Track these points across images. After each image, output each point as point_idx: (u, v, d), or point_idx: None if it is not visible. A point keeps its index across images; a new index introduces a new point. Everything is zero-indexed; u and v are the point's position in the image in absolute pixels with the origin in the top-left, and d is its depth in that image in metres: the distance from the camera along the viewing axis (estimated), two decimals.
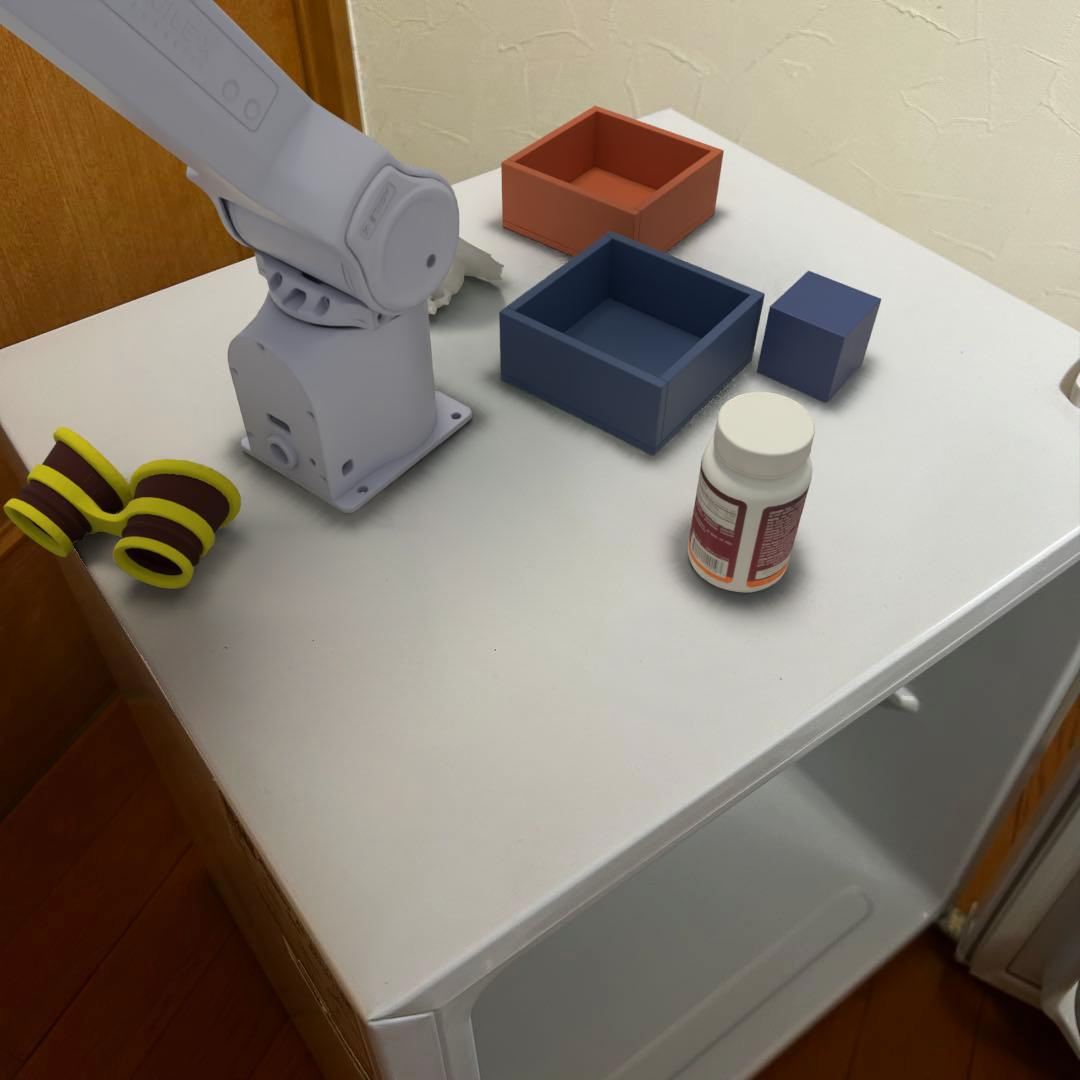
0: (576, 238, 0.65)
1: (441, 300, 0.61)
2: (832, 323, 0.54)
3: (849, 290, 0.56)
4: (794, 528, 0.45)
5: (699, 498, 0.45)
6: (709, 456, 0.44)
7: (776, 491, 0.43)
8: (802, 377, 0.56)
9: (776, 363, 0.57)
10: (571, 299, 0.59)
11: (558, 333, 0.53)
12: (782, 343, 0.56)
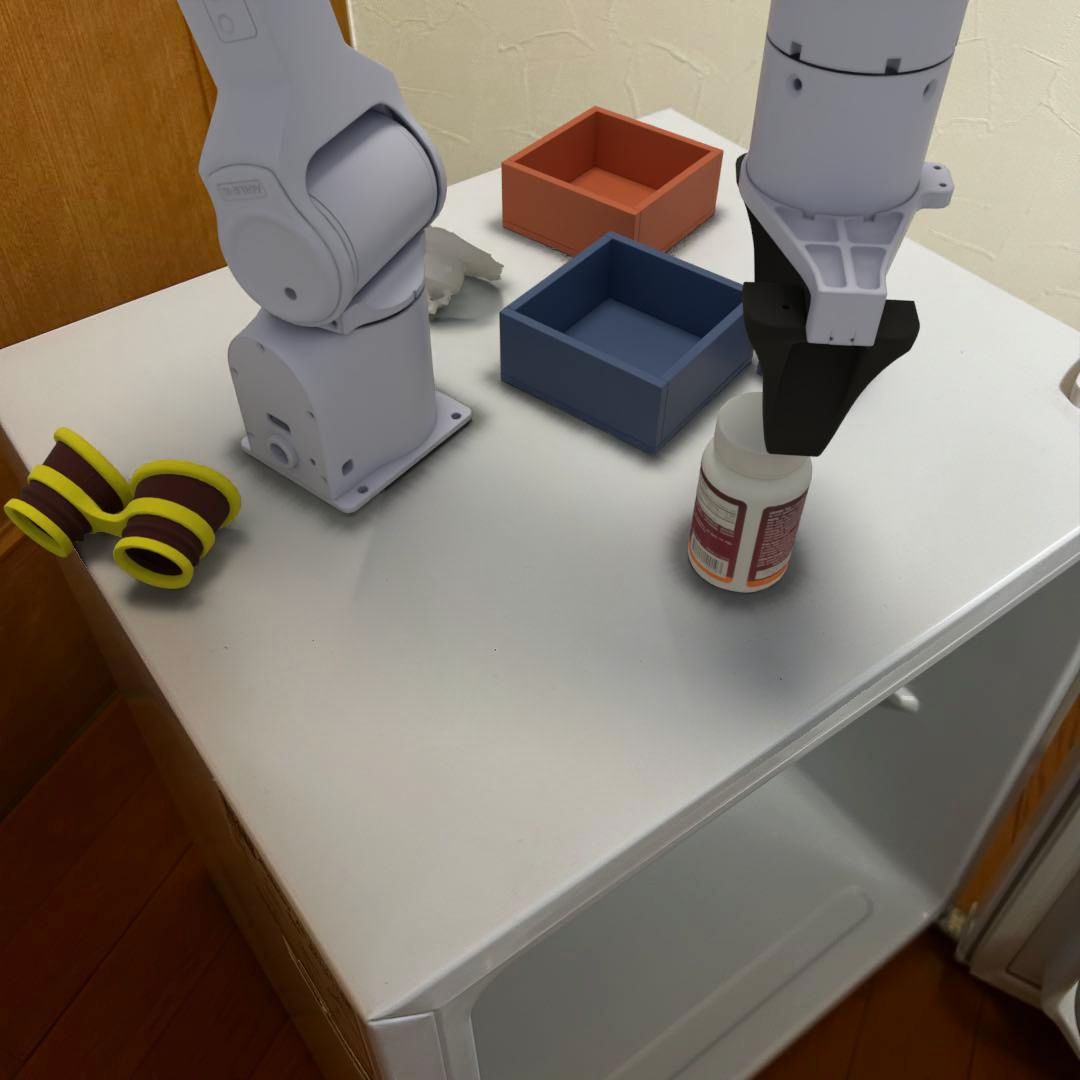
0: (576, 238, 0.65)
1: (441, 300, 0.61)
2: None
3: None
4: (794, 528, 0.45)
5: (699, 498, 0.45)
6: (709, 456, 0.44)
7: (776, 491, 0.43)
8: None
9: None
10: (571, 299, 0.59)
11: (558, 333, 0.53)
12: None
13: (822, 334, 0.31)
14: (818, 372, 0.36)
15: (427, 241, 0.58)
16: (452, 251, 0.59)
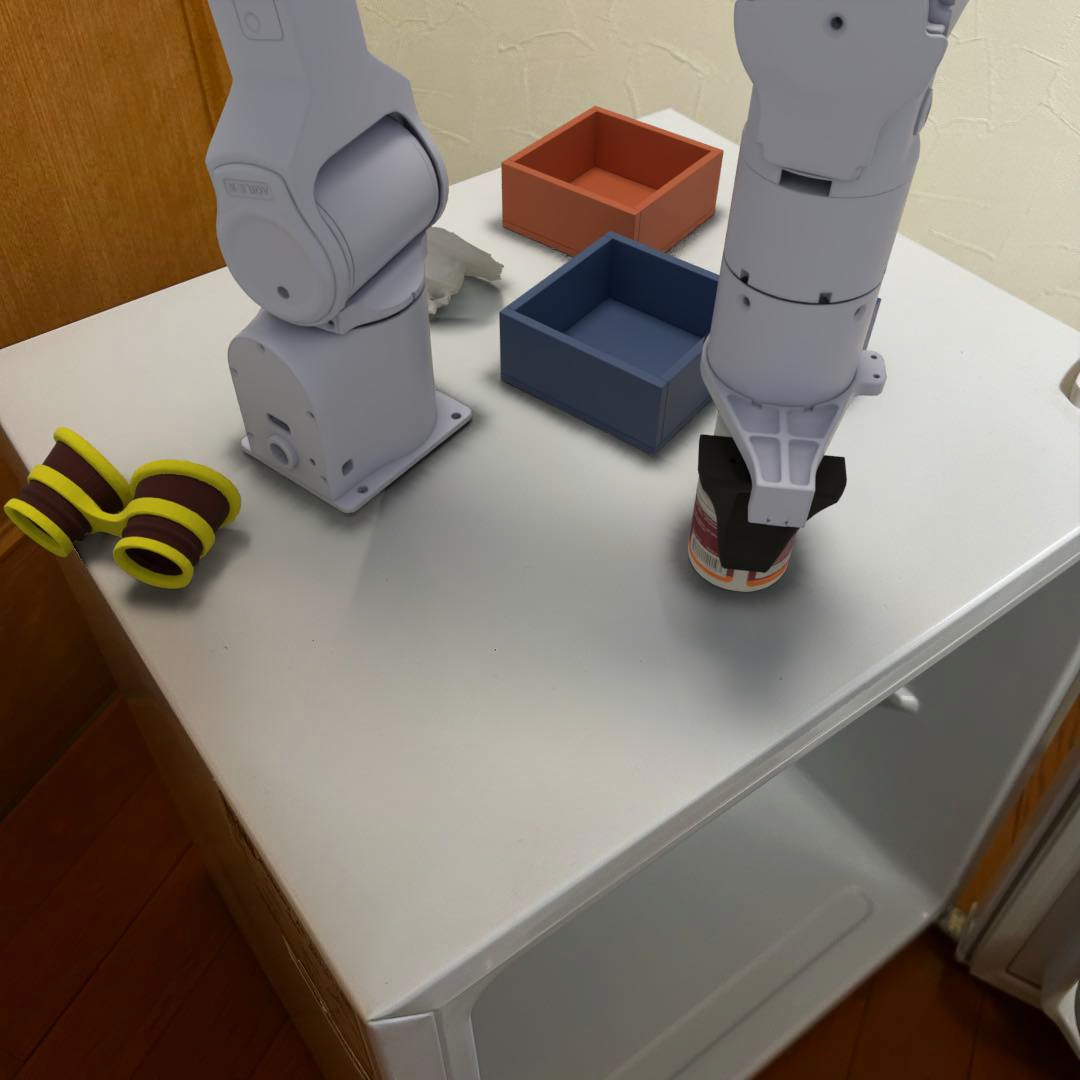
0: (576, 238, 0.65)
1: (441, 300, 0.61)
2: None
3: None
4: None
5: (699, 498, 0.45)
6: None
7: None
8: None
9: None
10: (571, 299, 0.59)
11: (558, 333, 0.53)
12: None
13: (761, 517, 0.36)
14: None
15: (427, 241, 0.58)
16: (452, 251, 0.59)
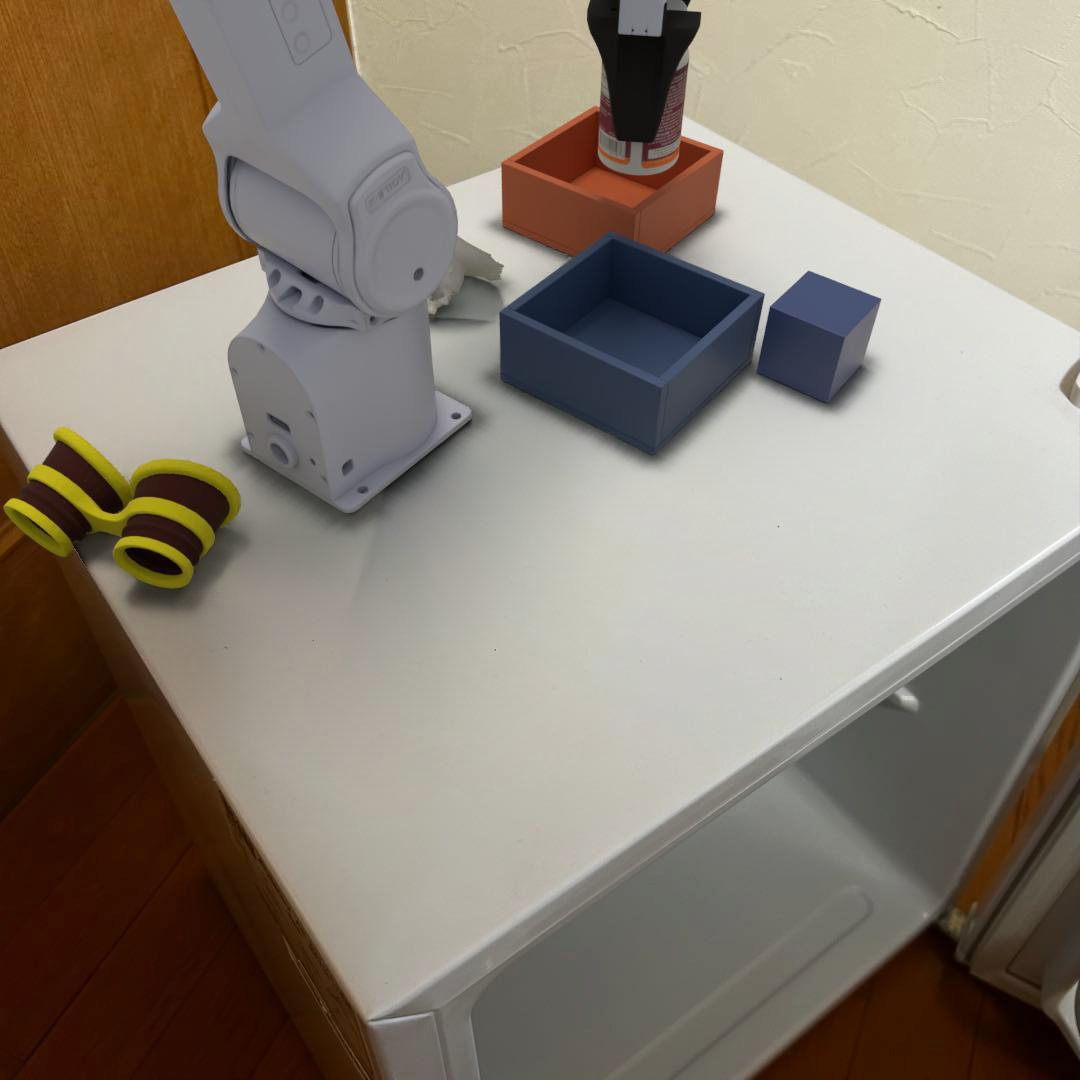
0: (576, 238, 0.65)
1: (441, 300, 0.61)
2: (832, 323, 0.54)
3: (849, 290, 0.56)
4: (676, 109, 0.57)
5: (601, 87, 0.57)
6: None
7: None
8: (802, 377, 0.56)
9: (776, 363, 0.57)
10: (571, 299, 0.59)
11: (558, 333, 0.53)
12: (782, 343, 0.56)
13: (627, 26, 0.48)
14: (643, 69, 0.54)
15: None
16: None
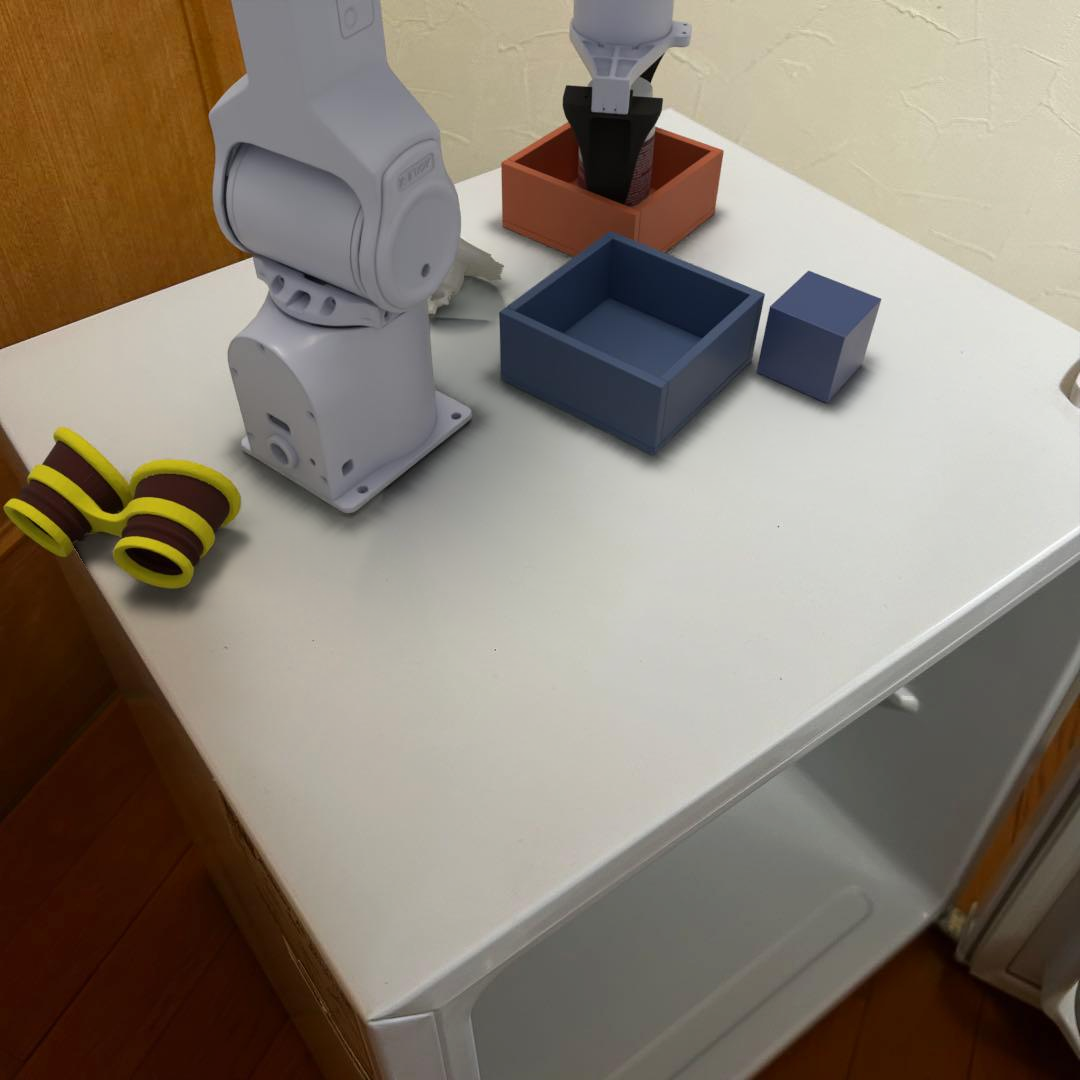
0: (576, 238, 0.65)
1: (441, 300, 0.61)
2: (832, 323, 0.54)
3: (849, 290, 0.56)
4: (645, 174, 0.65)
5: (579, 154, 0.65)
6: None
7: None
8: (802, 377, 0.56)
9: (776, 363, 0.57)
10: (571, 299, 0.59)
11: (558, 333, 0.53)
12: (782, 343, 0.56)
13: (598, 106, 0.56)
14: (613, 145, 0.61)
15: None
16: None
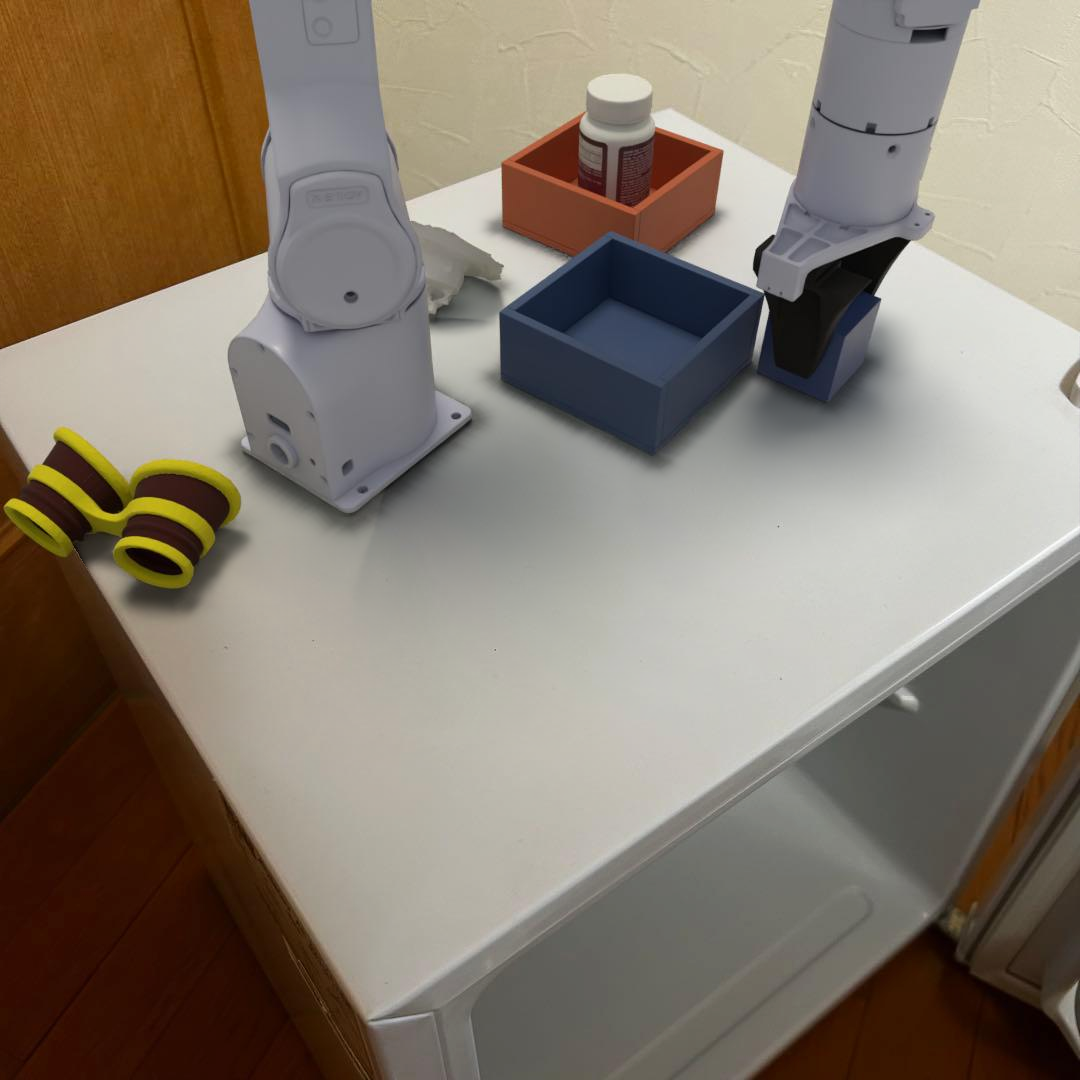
0: (576, 238, 0.65)
1: (441, 300, 0.61)
2: None
3: None
4: (645, 174, 0.65)
5: (579, 154, 0.65)
6: (584, 118, 0.64)
7: (626, 134, 0.63)
8: None
9: None
10: (571, 299, 0.59)
11: (558, 333, 0.53)
12: None
13: (764, 283, 0.48)
14: (806, 312, 0.53)
15: (427, 241, 0.58)
16: (452, 251, 0.59)
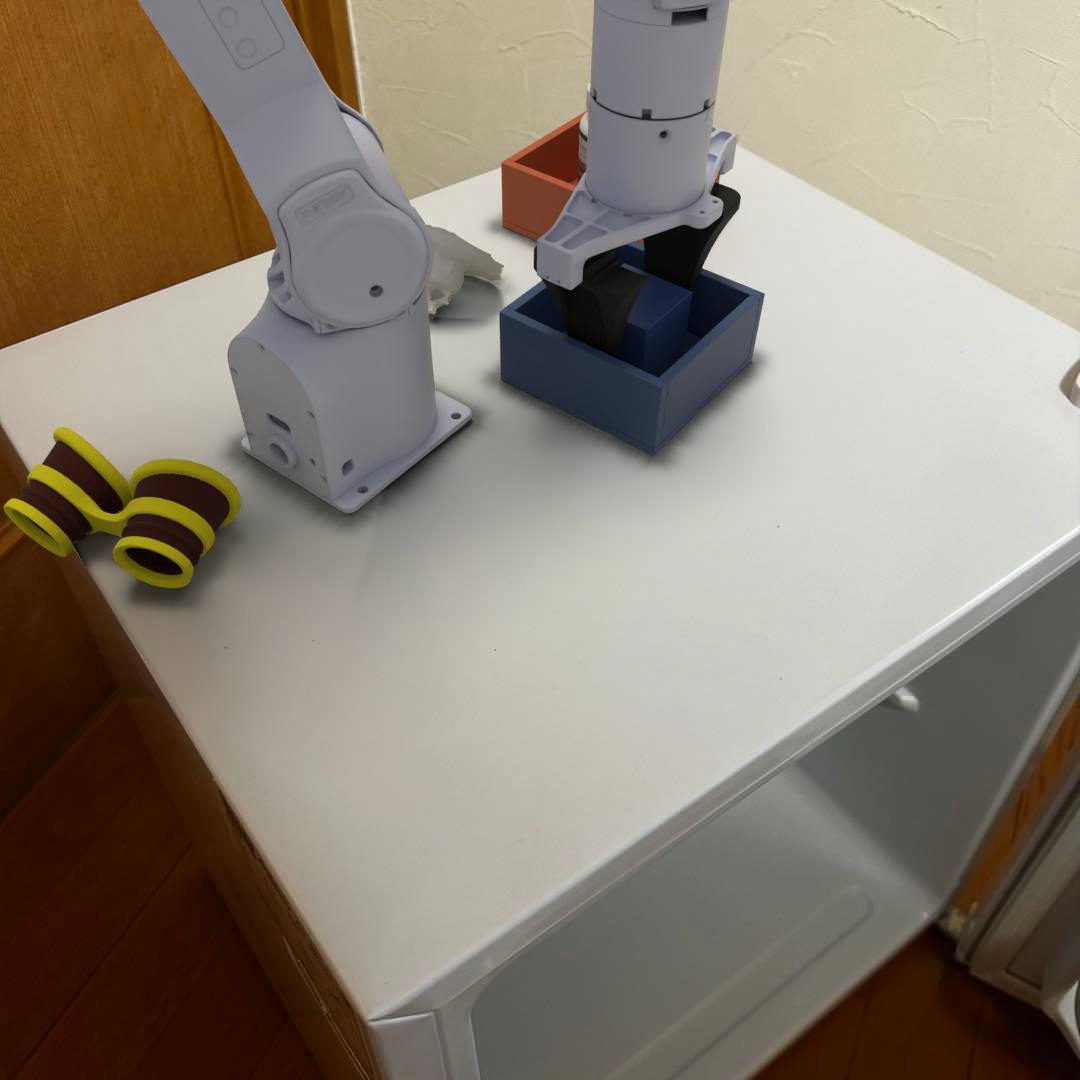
0: None
1: (441, 300, 0.61)
2: (636, 316, 0.53)
3: (661, 283, 0.55)
4: None
5: (579, 154, 0.65)
6: (584, 118, 0.64)
7: None
8: None
9: None
10: None
11: (558, 333, 0.53)
12: None
13: (543, 272, 0.47)
14: (594, 311, 0.52)
15: None
16: (452, 251, 0.59)
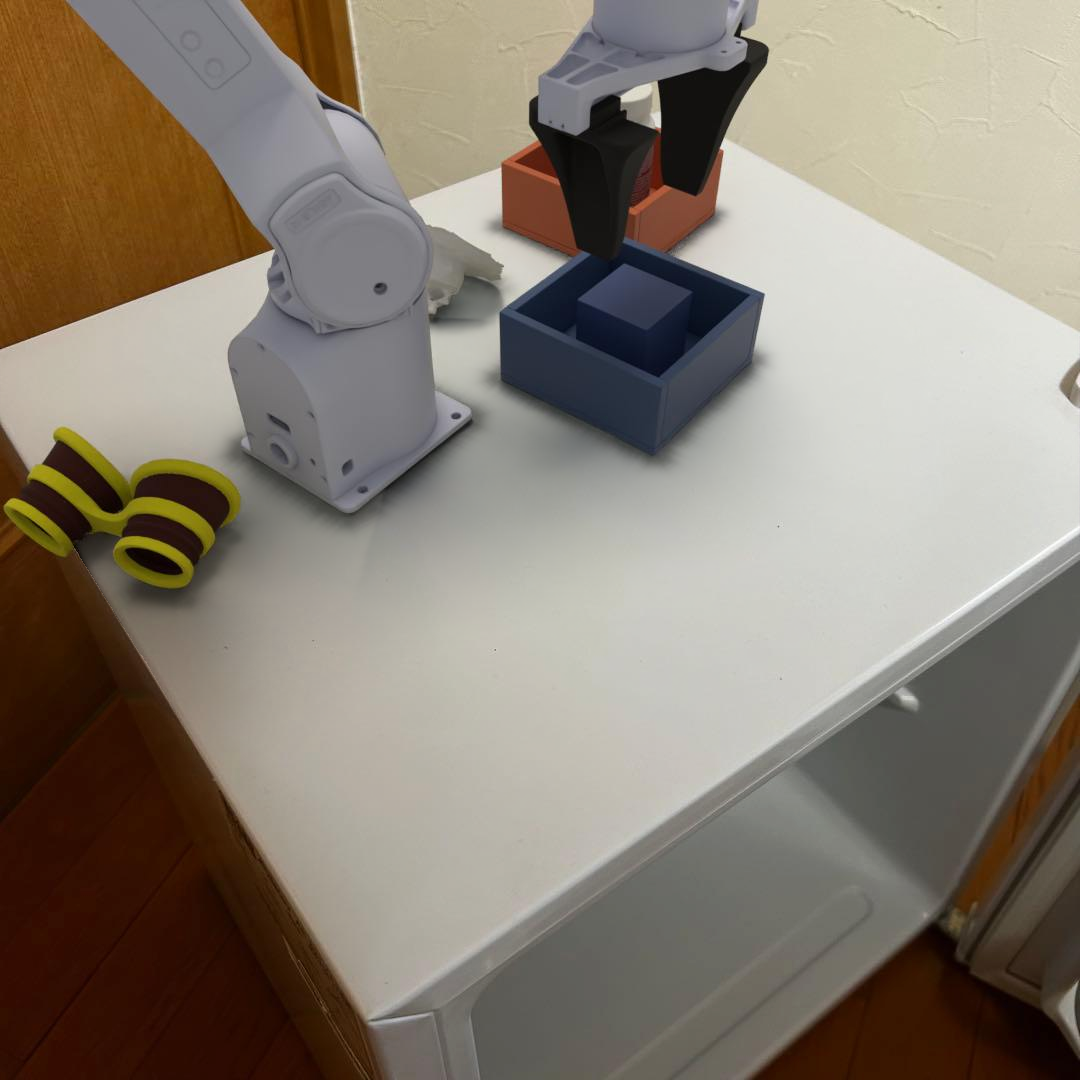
0: None
1: (441, 300, 0.61)
2: (636, 316, 0.53)
3: (661, 283, 0.55)
4: (645, 174, 0.65)
5: None
6: None
7: None
8: None
9: None
10: (571, 299, 0.59)
11: (558, 333, 0.53)
12: (592, 336, 0.55)
13: (545, 116, 0.42)
14: (597, 177, 0.46)
15: None
16: (452, 251, 0.59)
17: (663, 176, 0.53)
